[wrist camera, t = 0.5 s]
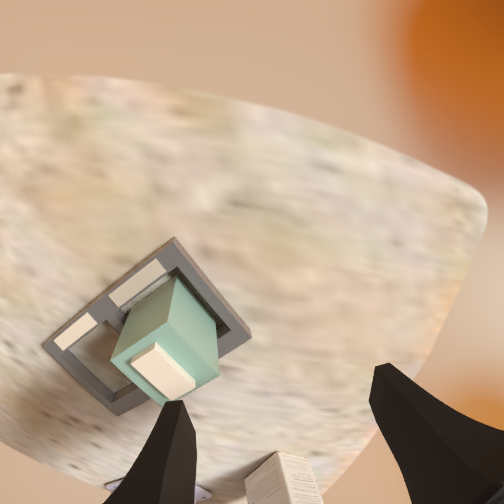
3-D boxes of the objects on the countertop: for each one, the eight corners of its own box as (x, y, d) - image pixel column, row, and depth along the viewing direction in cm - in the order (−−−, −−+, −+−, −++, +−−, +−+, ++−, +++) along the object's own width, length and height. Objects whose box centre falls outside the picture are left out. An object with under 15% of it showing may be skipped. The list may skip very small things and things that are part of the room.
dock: (120, 406, 22) (117, 417, 21) (48, 338, 20) (42, 347, 19) (249, 328, 22) (252, 338, 20) (174, 236, 19) (172, 242, 18)
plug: (170, 348, 21) (161, 414, 15) (131, 307, 20) (107, 367, 14) (215, 319, 21) (220, 382, 15) (177, 274, 20) (166, 327, 14)
